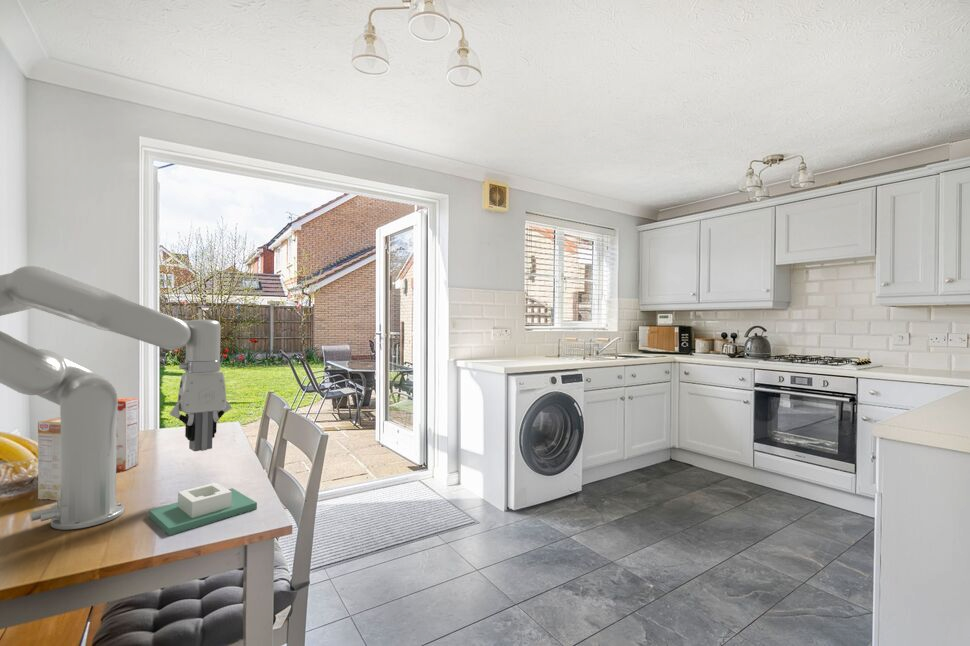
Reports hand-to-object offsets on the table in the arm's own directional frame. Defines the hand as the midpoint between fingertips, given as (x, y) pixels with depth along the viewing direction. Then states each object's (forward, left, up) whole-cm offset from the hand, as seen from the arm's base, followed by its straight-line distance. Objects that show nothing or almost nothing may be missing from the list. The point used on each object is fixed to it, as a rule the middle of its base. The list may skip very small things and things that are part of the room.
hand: (200, 437), depth 119 cm
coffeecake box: (-20, +27, -15) cm, 36 cm away
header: (-4, -13, -13) cm, 19 cm away
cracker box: (-11, +42, -15) cm, 46 cm away
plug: (0, 0, -3) cm, 3 cm away
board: (-4, -13, -15) cm, 20 cm away
